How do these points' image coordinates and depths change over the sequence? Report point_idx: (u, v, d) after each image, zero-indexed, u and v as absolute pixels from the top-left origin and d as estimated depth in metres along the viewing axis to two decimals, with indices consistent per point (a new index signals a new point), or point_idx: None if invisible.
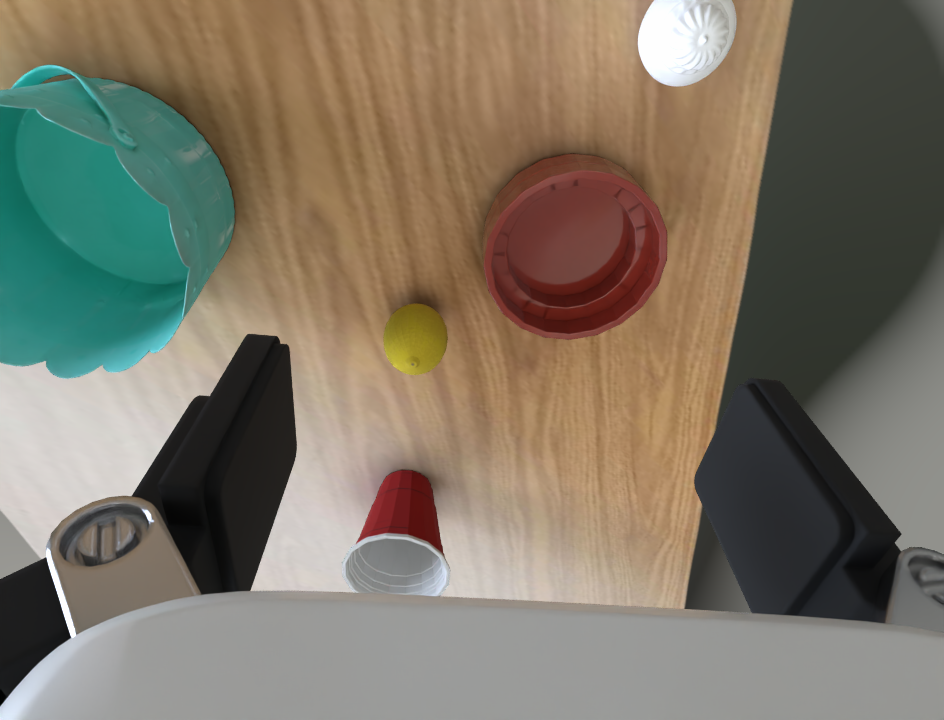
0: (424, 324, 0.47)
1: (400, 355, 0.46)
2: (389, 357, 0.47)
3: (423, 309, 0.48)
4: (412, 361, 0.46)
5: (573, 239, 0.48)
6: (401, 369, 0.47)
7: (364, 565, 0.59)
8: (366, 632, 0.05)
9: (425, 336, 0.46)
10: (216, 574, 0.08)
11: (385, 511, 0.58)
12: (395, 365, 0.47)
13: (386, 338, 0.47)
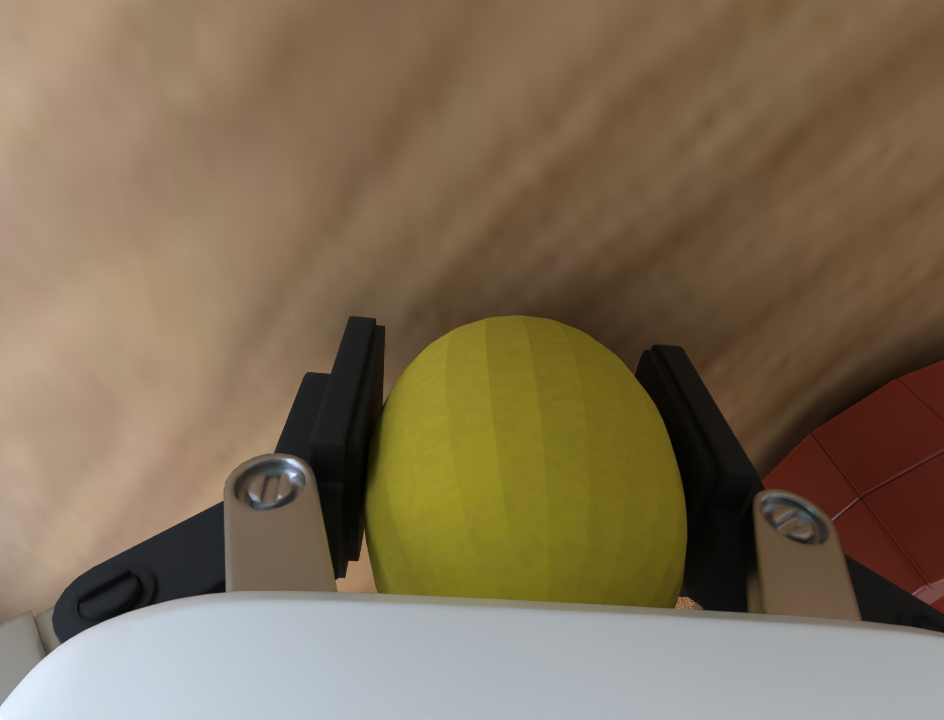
0: None
1: None
2: (430, 546, 0.07)
3: None
4: None
5: None
6: None
7: None
8: (366, 632, 0.05)
9: (676, 596, 0.08)
10: (343, 528, 0.09)
11: None
12: None
13: (495, 440, 0.08)
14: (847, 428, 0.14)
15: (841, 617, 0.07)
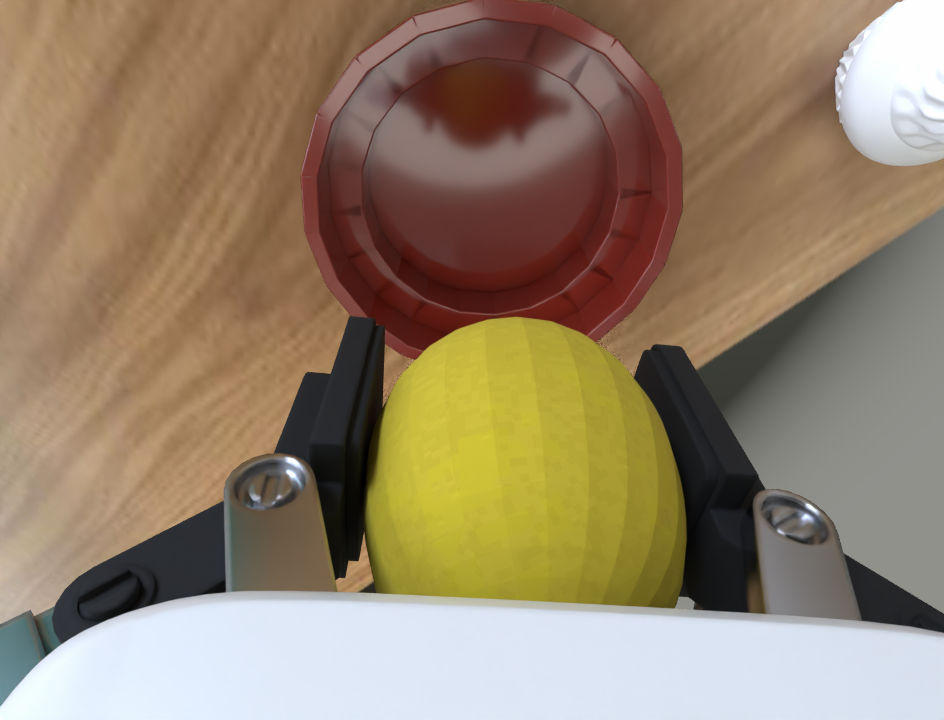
0: None
1: None
2: (430, 548, 0.07)
3: None
4: None
5: (496, 194, 0.25)
6: None
7: None
8: (366, 632, 0.05)
9: (675, 598, 0.08)
10: (344, 528, 0.09)
11: None
12: None
13: (494, 443, 0.08)
14: None
15: (841, 617, 0.07)
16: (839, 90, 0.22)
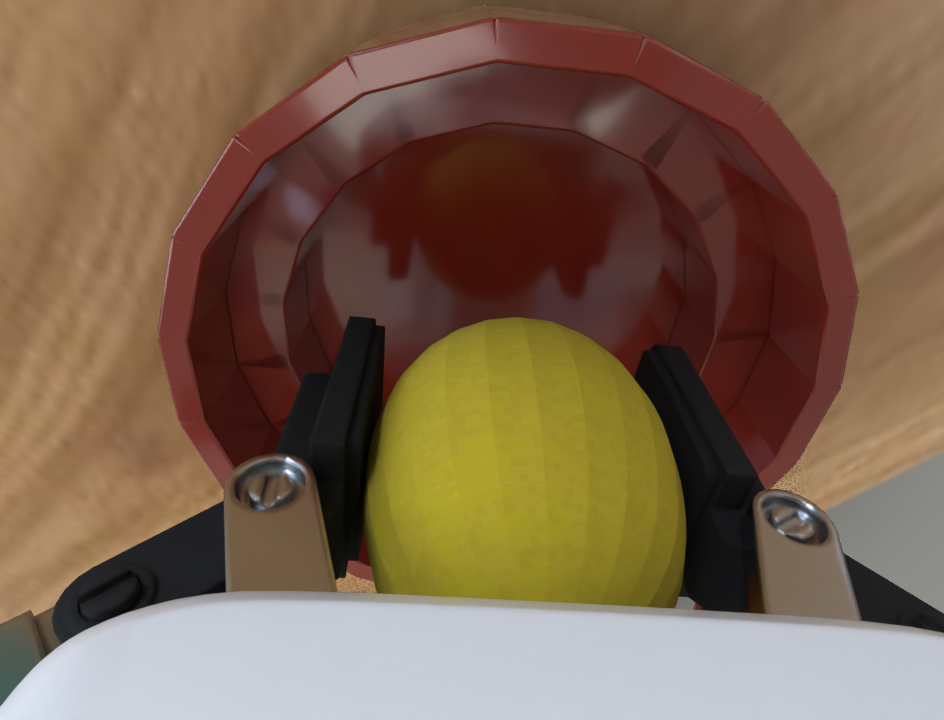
0: None
1: None
2: (430, 548, 0.07)
3: None
4: None
5: None
6: None
7: None
8: (366, 632, 0.05)
9: (675, 598, 0.08)
10: (344, 528, 0.09)
11: None
12: None
13: (495, 443, 0.08)
14: None
15: (841, 617, 0.07)
16: None
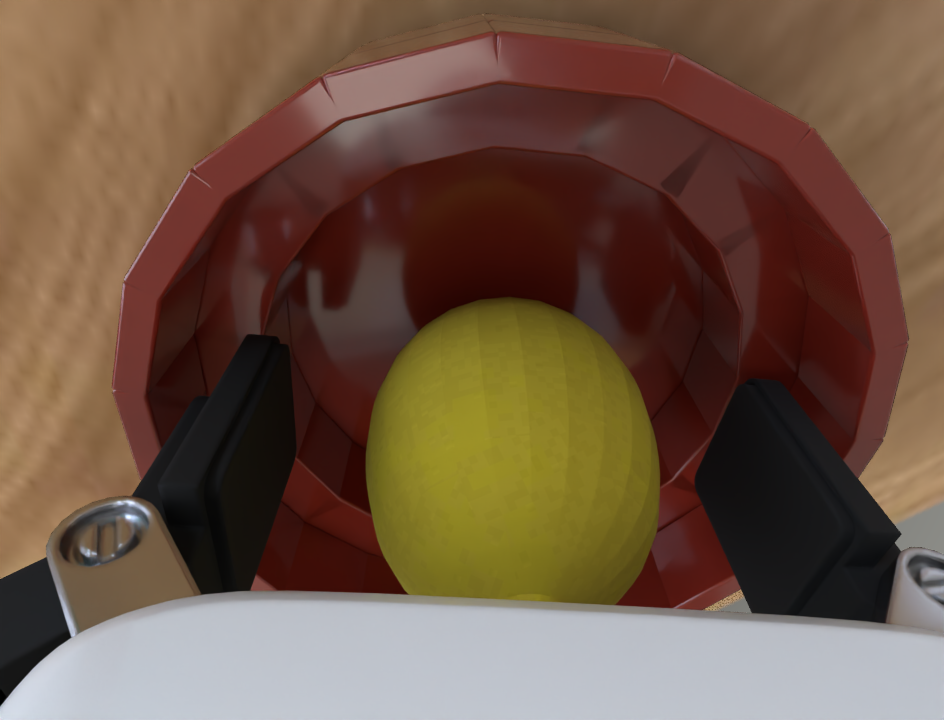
0: (659, 481, 0.10)
1: (513, 556, 0.08)
2: (427, 494, 0.08)
3: None
4: None
5: None
6: (424, 582, 0.09)
7: None
8: (366, 632, 0.05)
9: (649, 544, 0.09)
10: (216, 574, 0.08)
11: None
12: (416, 546, 0.08)
13: (485, 401, 0.09)
14: None
15: None
16: None
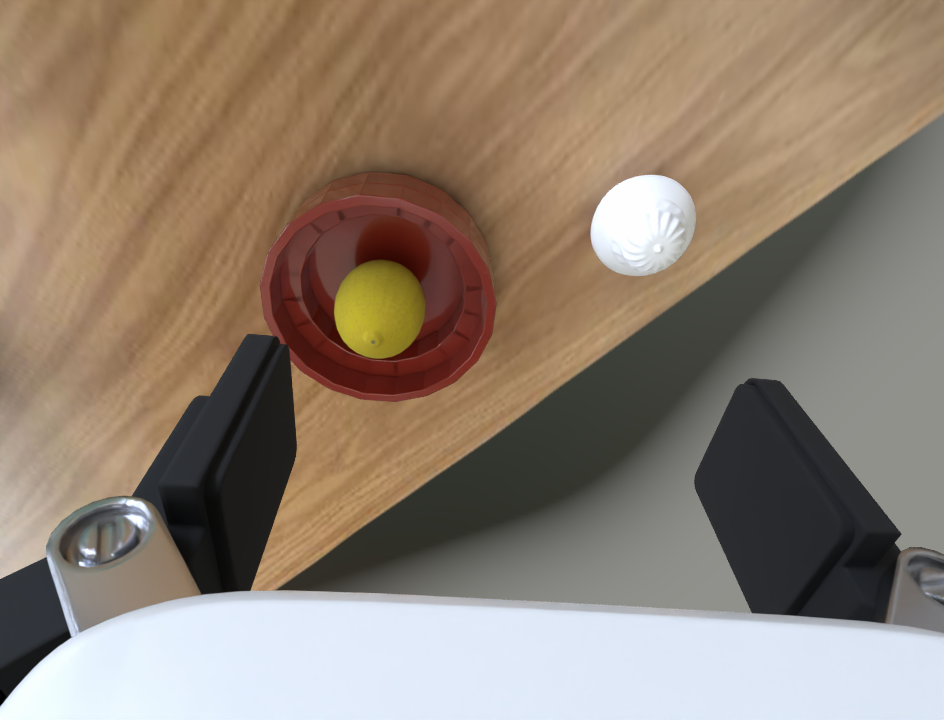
0: (417, 310, 0.33)
1: (368, 319, 0.32)
2: (347, 307, 0.32)
3: (421, 290, 0.35)
4: (376, 339, 0.32)
5: None
6: (347, 331, 0.32)
7: None
8: (367, 632, 0.05)
9: (410, 325, 0.33)
10: (216, 574, 0.08)
11: None
12: (345, 321, 0.32)
13: (363, 284, 0.32)
14: None
15: None
16: None
